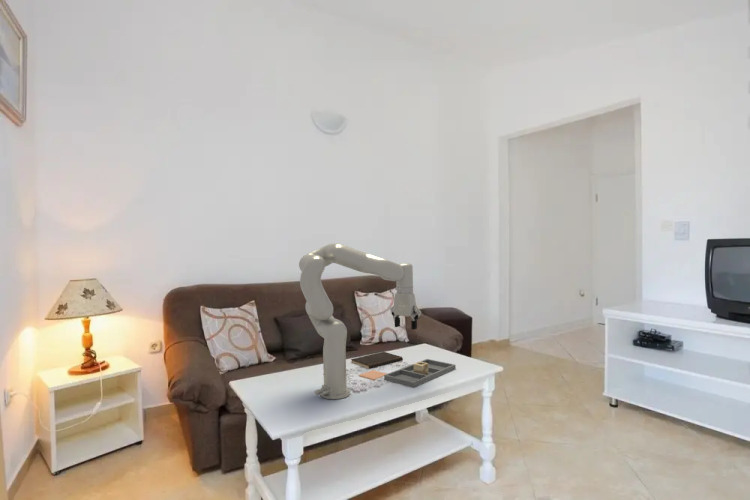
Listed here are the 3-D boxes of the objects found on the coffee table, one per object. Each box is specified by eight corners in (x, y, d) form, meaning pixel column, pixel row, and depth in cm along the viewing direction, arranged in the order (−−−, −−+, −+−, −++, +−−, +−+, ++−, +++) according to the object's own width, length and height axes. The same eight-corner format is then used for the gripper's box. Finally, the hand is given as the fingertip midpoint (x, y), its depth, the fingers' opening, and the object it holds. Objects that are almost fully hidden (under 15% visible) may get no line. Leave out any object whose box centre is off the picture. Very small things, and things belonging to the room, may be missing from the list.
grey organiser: (413, 388, 178) (413, 382, 178) (384, 380, 190) (384, 375, 190) (455, 369, 203) (455, 364, 203) (427, 363, 215) (427, 358, 215)
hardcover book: (350, 363, 220) (350, 359, 220) (384, 355, 235) (383, 351, 235) (369, 370, 208) (369, 365, 208) (402, 361, 222) (402, 357, 222)
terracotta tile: (374, 380, 190) (374, 379, 190) (358, 376, 197) (358, 375, 197) (388, 375, 197) (388, 373, 197) (373, 371, 204) (372, 370, 204)
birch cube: (422, 376, 193) (422, 365, 193) (413, 374, 197) (413, 363, 196) (428, 373, 197) (428, 363, 197) (419, 371, 200) (419, 361, 200)
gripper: (385, 290, 191) (385, 327, 191) (415, 292, 179) (415, 331, 180) (395, 288, 197) (396, 324, 197) (425, 290, 185) (426, 328, 185)
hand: (405, 327), depth 188 cm, fingers open, 9 cm apart
